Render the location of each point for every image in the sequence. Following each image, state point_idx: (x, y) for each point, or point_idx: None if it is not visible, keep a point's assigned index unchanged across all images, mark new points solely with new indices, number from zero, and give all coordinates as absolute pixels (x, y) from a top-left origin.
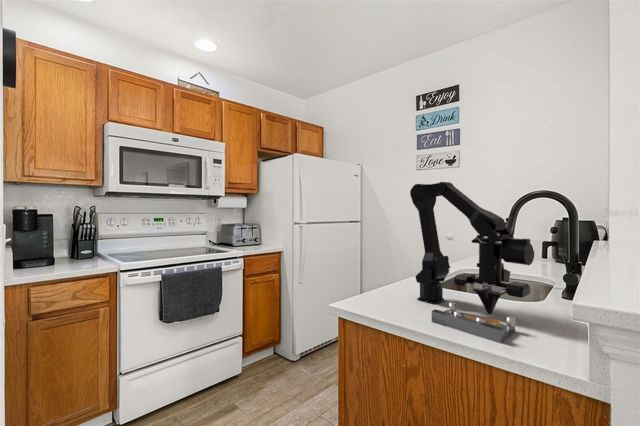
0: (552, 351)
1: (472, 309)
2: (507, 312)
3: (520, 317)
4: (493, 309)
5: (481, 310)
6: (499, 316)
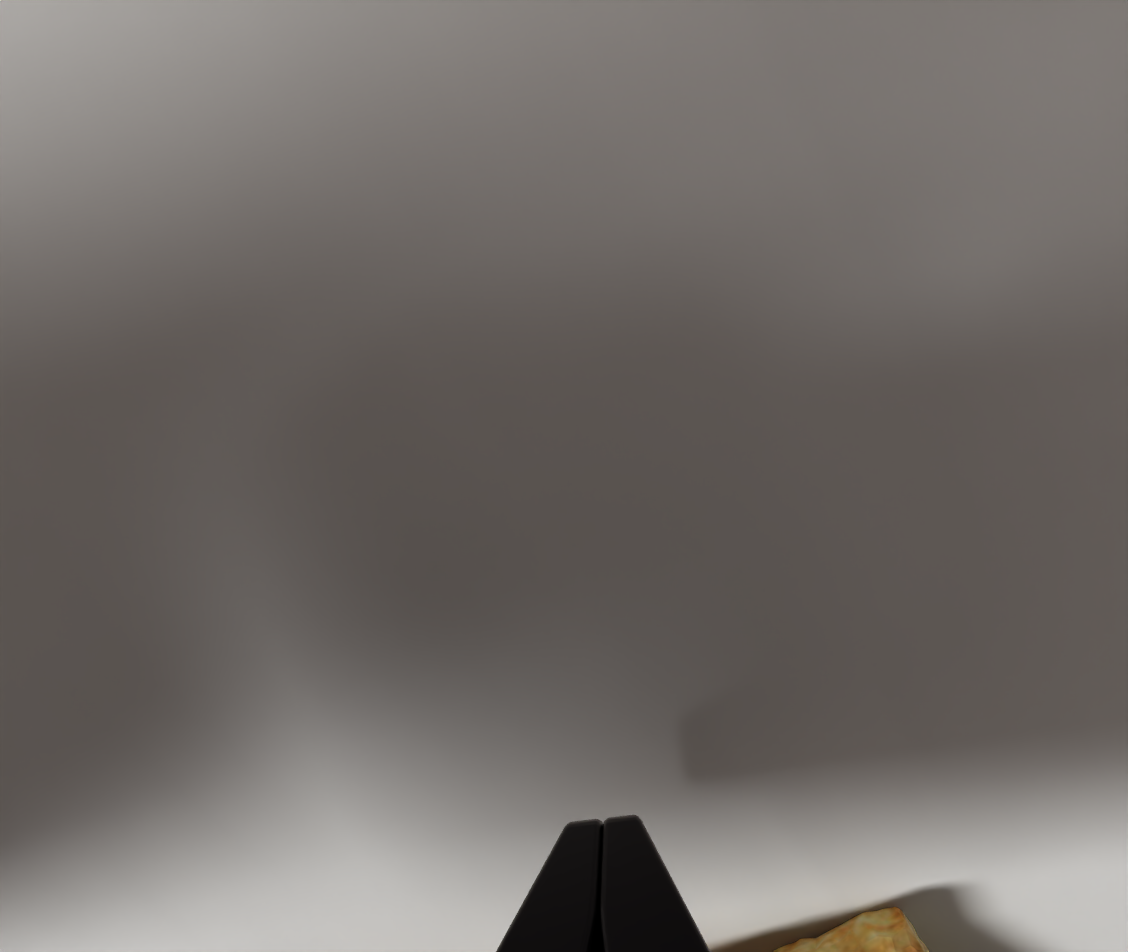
0: None
1: (56, 652)
2: (617, 36)
3: (1092, 133)
4: (689, 921)
5: (185, 541)
6: (689, 561)
